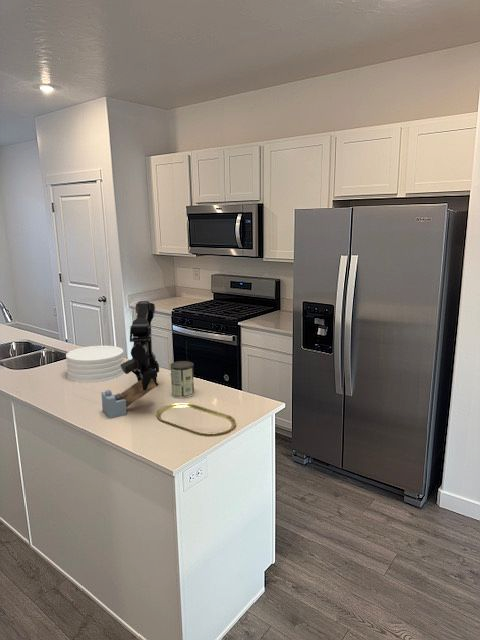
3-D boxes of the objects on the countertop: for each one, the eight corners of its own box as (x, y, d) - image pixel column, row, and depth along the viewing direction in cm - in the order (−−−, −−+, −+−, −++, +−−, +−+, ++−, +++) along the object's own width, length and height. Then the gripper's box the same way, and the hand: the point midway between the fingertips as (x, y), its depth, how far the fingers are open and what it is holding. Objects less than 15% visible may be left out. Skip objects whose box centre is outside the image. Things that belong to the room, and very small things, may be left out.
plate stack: (102, 362, 248) (100, 342, 246) (135, 371, 232) (134, 350, 230) (56, 375, 226) (54, 354, 224) (90, 386, 210) (88, 363, 208)
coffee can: (179, 388, 207) (178, 359, 204) (198, 392, 203) (197, 362, 200) (166, 396, 198) (165, 365, 195) (186, 399, 194) (185, 368, 191)
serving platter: (214, 442, 156) (214, 438, 155) (146, 417, 176) (146, 414, 176) (245, 423, 171) (245, 420, 170) (179, 403, 191) (179, 399, 190)
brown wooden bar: (153, 383, 189) (147, 373, 187) (156, 386, 186) (150, 375, 184) (121, 406, 183) (114, 395, 181) (124, 409, 180) (117, 398, 178)
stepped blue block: (119, 407, 185) (118, 384, 183) (126, 414, 178) (125, 390, 176) (102, 410, 182) (101, 387, 180) (109, 418, 174) (107, 394, 172)
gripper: (114, 350, 185) (117, 385, 189) (130, 361, 170) (132, 399, 173) (140, 346, 191) (142, 380, 194) (157, 357, 176) (158, 394, 179)
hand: (143, 388), depth 185 cm, fingers closed on brown wooden bar, 4 cm apart
